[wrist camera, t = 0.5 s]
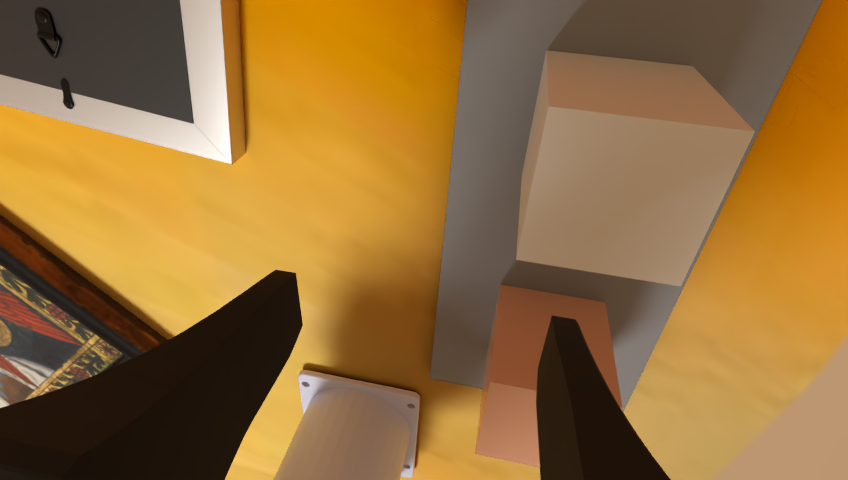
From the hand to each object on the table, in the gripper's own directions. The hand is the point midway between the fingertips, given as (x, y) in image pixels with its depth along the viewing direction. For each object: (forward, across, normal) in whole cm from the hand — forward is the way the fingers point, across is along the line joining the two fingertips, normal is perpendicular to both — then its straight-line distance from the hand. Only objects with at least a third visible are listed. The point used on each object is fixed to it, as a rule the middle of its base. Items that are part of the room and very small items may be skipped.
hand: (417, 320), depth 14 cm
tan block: (+9, -5, -3) cm, 11 cm away
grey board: (+10, -5, +2) cm, 11 cm away
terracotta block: (+9, -5, +8) cm, 13 cm away
